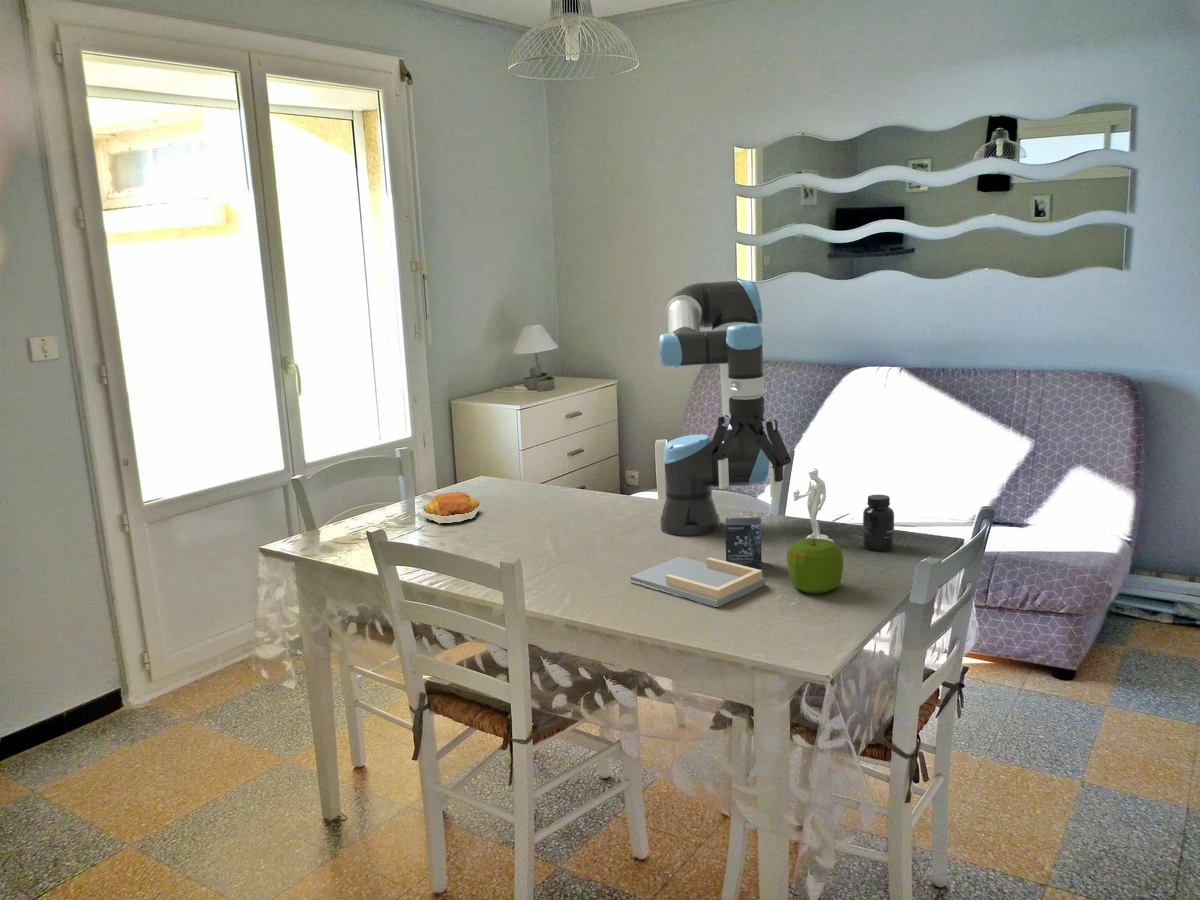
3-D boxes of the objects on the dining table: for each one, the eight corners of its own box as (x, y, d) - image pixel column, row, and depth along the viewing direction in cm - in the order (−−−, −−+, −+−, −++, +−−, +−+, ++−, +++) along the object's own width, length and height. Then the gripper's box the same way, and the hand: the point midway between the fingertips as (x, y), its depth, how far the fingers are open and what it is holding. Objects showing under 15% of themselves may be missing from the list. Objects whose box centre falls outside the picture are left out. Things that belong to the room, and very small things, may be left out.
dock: (630, 582, 207) (629, 567, 206) (679, 562, 218) (679, 548, 217) (716, 608, 190) (715, 591, 189) (765, 585, 201) (764, 569, 200)
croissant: (427, 521, 273) (420, 495, 271) (480, 508, 275) (474, 481, 273) (427, 534, 259) (420, 506, 257) (483, 520, 261) (476, 492, 259)
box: (726, 570, 211) (724, 524, 209) (726, 561, 216) (725, 517, 214) (762, 570, 210) (760, 524, 207) (761, 561, 215) (760, 516, 213)
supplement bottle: (895, 552, 216) (895, 500, 213) (864, 551, 217) (863, 501, 214) (892, 542, 222) (892, 492, 220) (862, 542, 224) (861, 493, 221)
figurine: (792, 539, 229) (790, 466, 225) (816, 534, 231) (815, 462, 227) (812, 549, 221) (810, 474, 217) (836, 544, 224) (836, 469, 220)
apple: (853, 586, 197) (852, 535, 195) (824, 601, 190) (823, 549, 187) (807, 575, 205) (806, 526, 203) (777, 589, 198) (776, 539, 195)
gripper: (689, 395, 211) (693, 487, 216) (786, 403, 194) (788, 503, 199) (710, 390, 216) (713, 480, 221) (806, 397, 199) (807, 495, 204)
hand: (749, 491), depth 210 cm, fingers open, 13 cm apart
